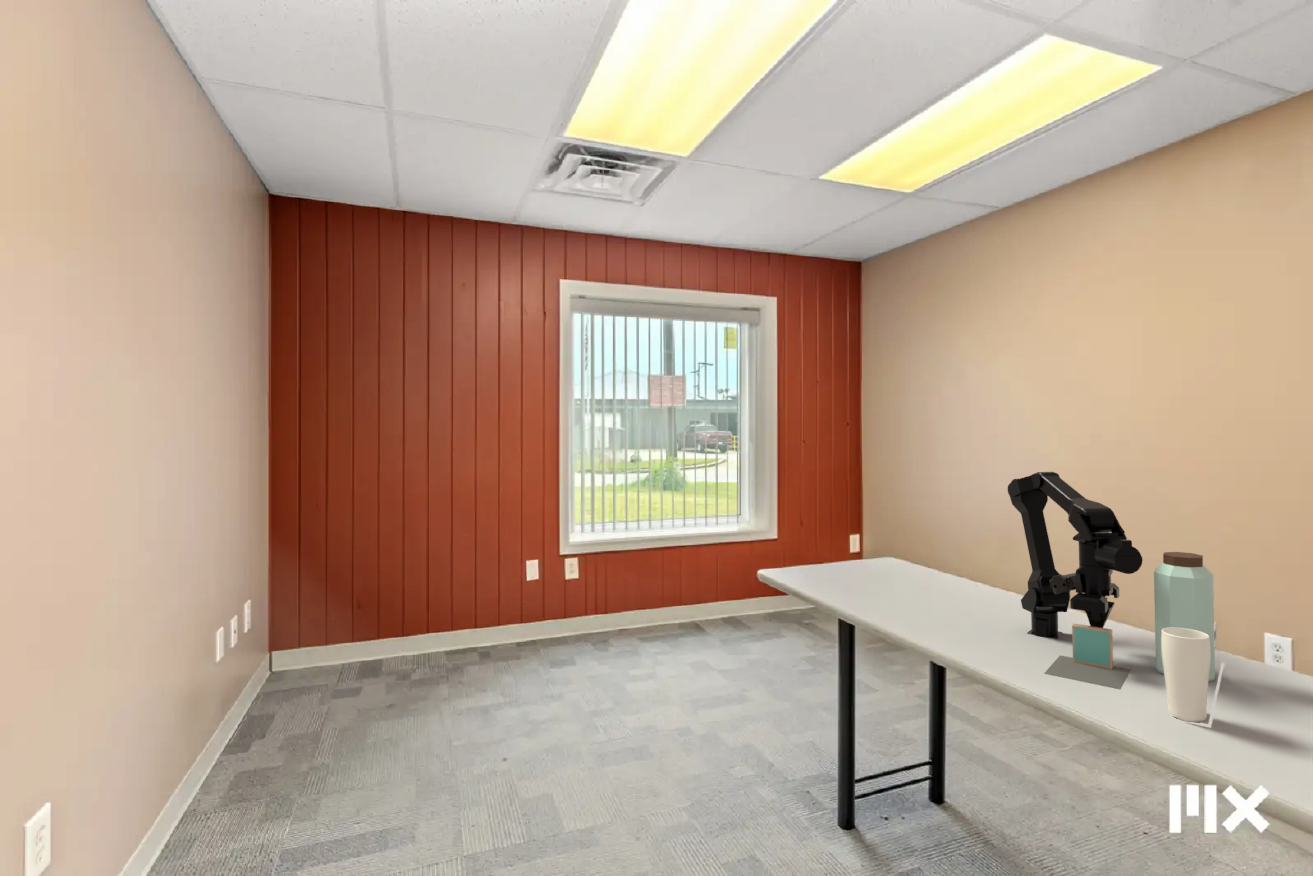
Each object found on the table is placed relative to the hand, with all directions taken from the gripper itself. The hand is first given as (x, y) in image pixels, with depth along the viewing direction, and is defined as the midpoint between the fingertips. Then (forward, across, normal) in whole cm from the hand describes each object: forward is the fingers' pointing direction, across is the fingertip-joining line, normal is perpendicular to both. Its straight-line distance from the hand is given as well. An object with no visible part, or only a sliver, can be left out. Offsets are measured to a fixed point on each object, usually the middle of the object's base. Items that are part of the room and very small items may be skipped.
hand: (1096, 635), depth 142 cm
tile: (+5, +4, 0) cm, 7 cm away
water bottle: (+6, -1, +15) cm, 16 cm away
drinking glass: (+6, +22, +17) cm, 28 cm away
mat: (+6, +9, 0) cm, 11 cm away
